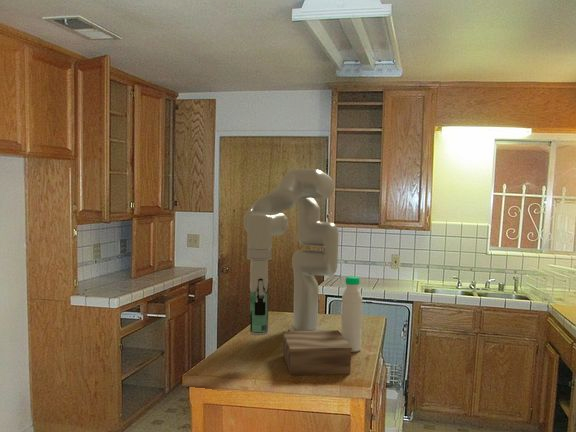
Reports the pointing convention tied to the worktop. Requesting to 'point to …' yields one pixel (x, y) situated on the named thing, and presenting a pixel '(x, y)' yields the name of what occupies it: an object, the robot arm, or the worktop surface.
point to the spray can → (258, 316)
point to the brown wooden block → (316, 352)
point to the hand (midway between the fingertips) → (259, 311)
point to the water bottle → (352, 314)
